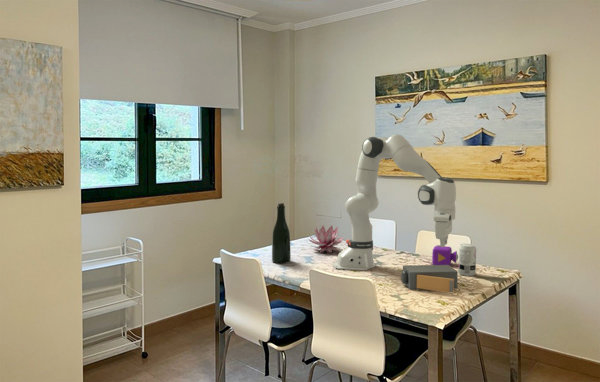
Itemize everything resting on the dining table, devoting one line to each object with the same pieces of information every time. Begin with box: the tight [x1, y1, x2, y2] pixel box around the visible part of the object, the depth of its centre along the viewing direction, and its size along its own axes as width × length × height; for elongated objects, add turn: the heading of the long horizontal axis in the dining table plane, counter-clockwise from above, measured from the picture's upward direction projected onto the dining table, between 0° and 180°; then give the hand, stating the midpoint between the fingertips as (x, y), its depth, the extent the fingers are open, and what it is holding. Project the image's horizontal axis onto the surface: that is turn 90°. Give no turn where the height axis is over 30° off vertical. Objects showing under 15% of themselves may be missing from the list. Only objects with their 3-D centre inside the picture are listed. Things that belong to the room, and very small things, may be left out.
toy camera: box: [431, 244, 459, 266], centre depth 266 cm, size 11×14×10 cm
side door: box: [417, 275, 455, 294], centre depth 217 cm, size 16×2×6 cm, turn 64°
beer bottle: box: [271, 202, 292, 264], centre depth 272 cm, size 10×10×33 cm
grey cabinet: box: [400, 264, 459, 291], centre depth 228 cm, size 24×12×8 cm, turn 94°
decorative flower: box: [309, 225, 344, 253], centre depth 297 cm, size 21×21×15 cm
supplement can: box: [457, 243, 477, 277], centre depth 246 cm, size 8×8×15 cm
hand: (443, 245), depth 216 cm, fingers open, 4 cm apart
